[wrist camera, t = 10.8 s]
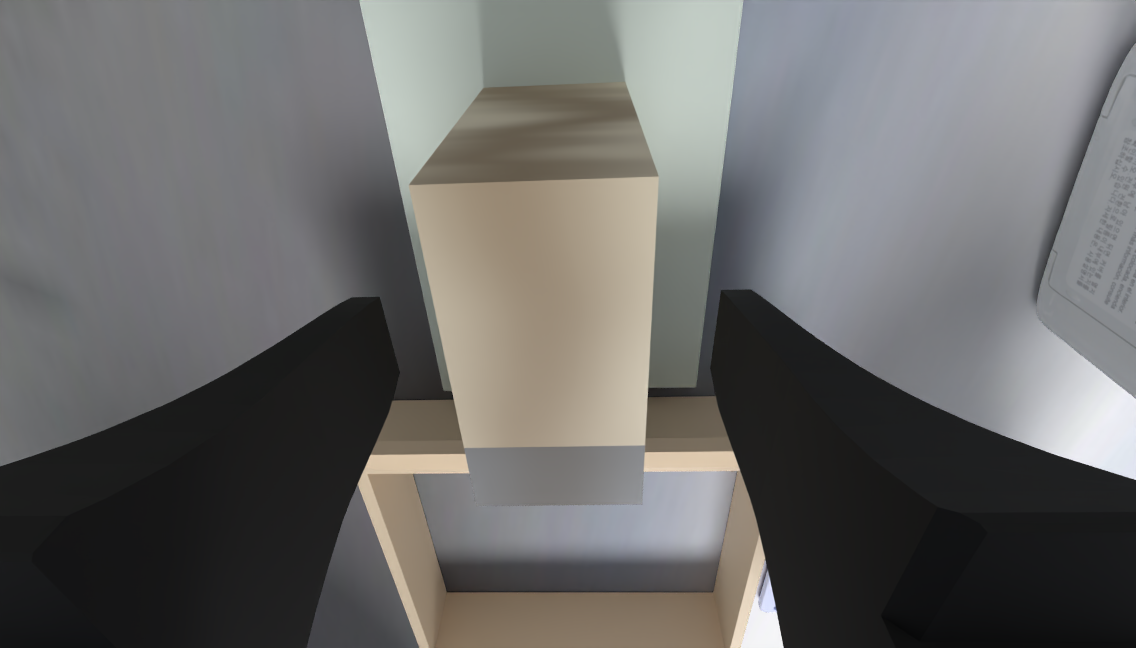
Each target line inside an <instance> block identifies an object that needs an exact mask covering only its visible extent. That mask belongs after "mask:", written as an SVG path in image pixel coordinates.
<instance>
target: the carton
mask: <svg viewBox="0 0 1136 648" xmlns="http://www.w3.org/2000/svg"><path fill="white" fill-rule="evenodd" d="M664 471H737V476H736V481H735V486H734V491H733V496H732V501H731V506H730V511H729V516H728V521H727V526H726V531H725V536H724V541H723V546H722V551H721V556H720V561H719V566H718V571H717V576H716V581H715V586H714V591H713V592H447V591H446V587H445V584H444V580H443V577H442V573H441V570H440V567H439V563H438V560H437V556H436V553H435V549H434V546H433V542H432V539H431V535H430V532H429V528H428V525H427V521H426V518H425V515H424V511H423V508H422V504H421V501H420V497H419V494H418V490H417V487H416V483H415V480H414V476H413V474H426V473H469V469H468V464H467V460H466V455H465V450H464V446H463V441H462V436H461V431H460V427H459V422H458V417H457V412H456V408H455V403H454V400H395V401H392V404H391V407H390V411H389V413H388V416H387V418H386V421H385V423H384V425H383V428H382V430H381V432H380V435H379V437H378V439H377V442H376V444H375V446H374V448H373V451H372V453H371V455H370V457H369V460H368V462H367V464H366V466H365V469H364V471H363V473H362V475H361V478H360V480H359V482H358V486H359V489H360V491H361V494H362V497H363V499H364V502H365V505H366V507H367V510H368V513H369V515H370V518H371V521H372V523H373V526H374V529H375V531H376V534H377V536H378V539H379V542H380V544H381V547H382V550H383V552H384V555H385V558H386V560H387V563H388V566H389V568H390V571H391V574H392V576H393V579H394V582H395V584H396V587H397V589H398V592H399V595H400V597H401V600H402V603H403V605H404V608H405V611H406V613H407V616H408V619H409V621H410V624H411V627H412V629H413V632H414V635H415V637H416V640H417V642H418V645H419V648H740V647H741V644H742V640H743V637H744V633H745V630H746V626H747V622H748V619H749V615H750V612H751V608H752V604H753V601H754V597H755V594H756V590H757V586H758V583H759V579H760V576H761V572H762V568H763V565H764V561H765V555H764V551H763V547H762V543H761V538H760V534H759V530H758V525H757V521H756V517H755V514H754V511H753V507H752V504H751V501H750V497H749V494H748V492H747V489H746V486H745V483H744V480H743V478H742V475H741V472H740V469H739V466H738V463H737V461H736V458H735V455H734V452H733V449H732V446H731V444H730V441H729V438H728V435H727V432H726V429H725V426H724V423H723V421H722V418H721V415H720V412H719V409H718V404H717V400H716V396H689V397H648V398H647V418H646V437H645V457H644V472H664Z"/></svg>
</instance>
